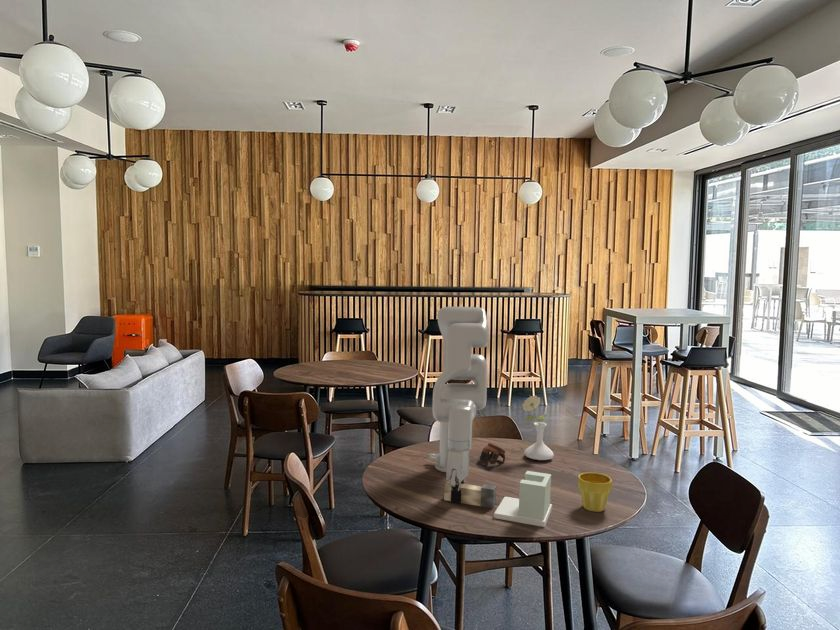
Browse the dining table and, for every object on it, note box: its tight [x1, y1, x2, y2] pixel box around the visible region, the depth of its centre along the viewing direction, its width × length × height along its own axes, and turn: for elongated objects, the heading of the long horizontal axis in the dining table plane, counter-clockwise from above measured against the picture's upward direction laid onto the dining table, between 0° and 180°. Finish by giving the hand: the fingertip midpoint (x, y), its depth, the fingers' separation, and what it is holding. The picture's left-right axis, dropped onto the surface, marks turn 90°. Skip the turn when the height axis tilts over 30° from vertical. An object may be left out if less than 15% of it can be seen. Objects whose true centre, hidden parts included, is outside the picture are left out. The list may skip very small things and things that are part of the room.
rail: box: [443, 480, 497, 509], centre depth 190 cm, size 16×4×6 cm, turn 69°
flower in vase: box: [521, 395, 555, 461], centre depth 235 cm, size 13×11×25 cm
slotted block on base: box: [493, 470, 553, 528], centre depth 183 cm, size 15×14×12 cm
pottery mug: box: [478, 442, 506, 466], centre depth 228 cm, size 12×10×8 cm
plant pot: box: [577, 471, 613, 513], centre depth 188 cm, size 10×10×10 cm
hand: (457, 499), depth 192 cm, fingers closed on rail, 3 cm apart
